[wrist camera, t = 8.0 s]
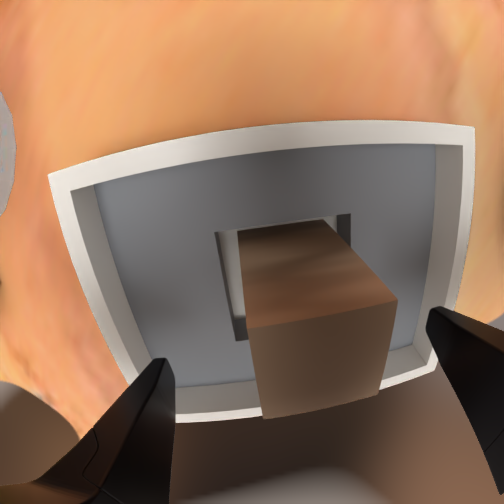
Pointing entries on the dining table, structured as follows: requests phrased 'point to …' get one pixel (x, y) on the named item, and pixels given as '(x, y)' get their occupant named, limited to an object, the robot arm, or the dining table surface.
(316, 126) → the tray
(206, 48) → the dining table surface
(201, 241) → the socket plate
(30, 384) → the dining table surface
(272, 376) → the peg
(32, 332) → the dining table surface
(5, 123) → the french press
